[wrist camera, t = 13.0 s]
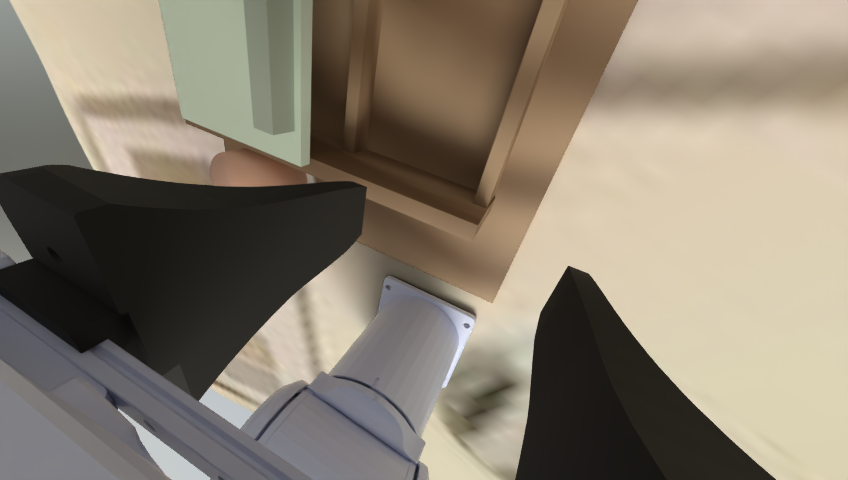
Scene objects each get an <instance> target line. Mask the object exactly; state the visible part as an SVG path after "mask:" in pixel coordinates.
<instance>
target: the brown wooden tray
mask: <svg viewBox="0 0 848 480" xmlns="http://www.w3.org/2000/svg"><path fill="white" fill-rule="evenodd" d="M637 2H638V0H313V12H312V67H311V122H310V164H308V165H305V166H302V167H300V166H297V165H295V164H293V163H290V162H288V161H285V160H283V159H280V158H278V157H276V156H273V155H271V154H268V153H266V152H264V151H261V150H259V149H256V148H254V147H251V146H249V145H247V144H244V143H242V142H239V141H237V140H234V139H232V138H230V137H227V136H225V135H222V134H220V133H218V132H215V131H213V130H210V129H208V128H205V127H203V126H201V125H198V124H196V123H193V122H191V121H189V120H186V119H185V120H186V123H187V124H189V125H192V126H194V127H197V128H199V129H201V130H204V131H206V132H209V133H211V134H213V135H216V136H218V137H221V138H223V139H224V145H225V152H227V151H231V150H236V149H241V148H247V149H249V150H252V151H254V152H257V153H259V154H261V155H264V156H266V157H269V158H271V159H273V160H276V161H278V162H280V163H283V164H285V165H288V166H290V167H292V168H295V169H297V170H300V171H302V172H304V173H306V175H307V183H320V182H333V181H353V182H356V183H358V184H361V185H363V186H366V187H367V192H366V200H365V209H364V218H363V227H362V234H361V236H360V237H359V238H358V239H357V240H356V241H357V242H359V243H362V244H364V245H366V246H368V247H370V248H373V249H375V250H377V251H379V252H381V253H384V254H386V255H388V256H390V257H392V258H394V259H397V260H399V261H401V262H403V263H405V264H408V265H410V266H412V267H414V268H416V269H418V270H421V271H423V272H425V273H427V274H429V275H432V276H434V277H436V278H438V279H440V280H442V281H445V282H447V283H449V284H451V285H453V286H456V287H458V288H460V289H462V290H464V291H467V292H469V293H471V294H473V295H475V296H477V297H480V298H482V299H484V300H486V301H488V302H491V303H493V301H494V299H495V297H496V295H497V293H498V290H499V288H500V286H501V284H502V282H503V280H504V278H505V276H506V274H507V272H508V270H509V268H510V266H511V263H512V261H513V259H514V257H515V255H516V253H517V251H518V249H519V247H520V245H521V243H522V241H523V239H524V236H525V234H526V232H527V230H528V228H529V226H530V224H531V222H532V220H533V218H534V216H535V214H536V211H537V209H538V207H539V205H540V203H541V201H542V199H543V197H544V195H545V193H546V191H547V189H548V187H549V184H550V182H551V180H552V178H553V176H554V174H555V172H556V170H557V168H558V166H559V164H560V162H561V160H562V157H563V155H564V153H565V151H566V149H567V147H568V145H569V143H570V141H571V139H572V137H573V135H574V133H575V130H576V128H577V126H578V124H579V122H580V120H581V118H582V116H583V114H584V112H585V110H586V108H587V105H588V103H589V101H590V99H591V97H592V95H593V93H594V91H595V89H596V87H597V85H598V83H599V81H600V78H601V76H602V74H603V72H604V70H605V68H606V66H607V64H608V62H609V60H610V58H611V56H612V54H613V51H614V49H615V47H616V45H617V43H618V41H619V39H620V37H621V35H622V33H623V31H624V29H625V27H626V24H627V22H628V20H629V18H630V16H631V14H632V12H633V10H634V8H635V6H636V4H637Z"/></svg>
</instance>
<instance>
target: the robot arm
mask: <svg viewBox="0 0 848 480" xmlns="http://www.w3.org/2000/svg"><path fill="white" fill-rule="evenodd" d="M366 192H367V187H366V186H363V185H361V184H358V183H356V182H353V181H333V182H320V183H308V184H296V185H280V186H261V187H231V186H211V185H197V184H183V183H174V182H165V181H157V180H150V179H143V178H136V177H129V176H123V175H118V174H112V173H107V172H101V171H96V170H90V169H85V168H80V167H75V166H70V165H45V166H39V167H34V168H29V169H23V170H18V171H12V172H6V173H0V205H1V206H2V208H3V210H4V212H5V214H6V215H7V217H8V219H9V220H10V222H11V223H12V225H13V227H14V228H15V230H16V231H17V233H18V235H19V237H20V238H21V240H22V241H23V243H24V244H25V246H26V248H27V250H28V251H29V253H30V255H31V256H32V257H33V259H30V260H27V261H24V262H21V263H18V264H16V263H15V262H14V261H13V260H12V259H11V257H10V256H8V255H7V254H6V253H5V252H3V251H2V250H0V480H171V479H170V478H169V477H167V476H166V475H165V474H164V473H163V471H162V470H161V469H160V468H159V466H158V465H157V464H156V462H155V461H154V460H153V459H152V457H151V456H150V455H149V453H148V451H147V450H146V448H145V447H144V446H143V444H142V442H141V441H140V439H139V436H138V434H137V432H136V429H135V427H134V426H133V425H132V424H131V423H130V422H129V421H128V420H127V419H126V418H125V417H124V416H123V415H122V414H121V413H120V412H119V411H118V408H119V409H120V410H121V411H123V412H124V413H125V414H127V415H128V416H129V417H131V418H132V419H133V420H135V421H136V422H137V423H139V424H140V425H141V426H143V427H144V428H145V429H146V430H148V431H149V432H150V433H152V434H153V435H155V436H156V437H157V438H158V439H160V440H161V441H162V442H164V443H165V444H166V445H168V446H169V447H170V448H172V449H173V450H174V451H176V452H177V453H178V454H180V455H181V456H182V457H184V458H185V459H186V460H188V461H189V462H190V463H191V464H193V465H194V466H195V467H197V468H198V469H199V470H201V471H202V472H203V473H205V474H206V475H207V476H209V477H210V478H211V479H210V480H429V476H428V475H429V472H428V468H427V466H426V465H425V464H423V463H422V462H420V461H419V458H420V456H421V453H422V451H423V448H424V446H425V441H424V440H423V439H421V437H422V434H423V432H424V430H425V427H426V425H427V422H428V420H429V417H430V415H431V413H432V410H433V408H434V405H435V403H436V401H437V398H438V396H439V393H440V391H441V388H444V387H446V385H447V383H448V381H449V379H450V377H451V375H452V372H453V370H454V368H455V366H456V364H457V362H458V359H459V357H460V355H461V353H462V351H463V349H464V346H465V344H466V342H467V340H468V338H469V336H470V333H471V331H472V329H473V327H474V325H475V322H476V317H475V316H474V315H472V314H470V313H468V312H466V311H464V310H462V309H460V308H458V307H456V306H454V305H451V304H449V303H447V302H445V301H443V300H441V299H439V298H437V297H435V296H432V295H430V294H428V293H426V292H424V291H422V290H420V289H418V288H416V287H413V286H411V285H409V284H407V283H405V282H403V281H401V280H399V279H397V278H394V277H392V276H387V277H386V278H385V279H384V283H383V288H382V293H381V298H380V303H379V308H378V313H377V315H376V317H375V318H374V319H373V320H372V321H371V323H370V324H369V325H368V326H367V328H366V329H365V330H364V331H363V332H362V334H361V335H360V336H359V337H358V339H357V340H356V341H355V342H354V343H353V345H352V346H351V347H350V348H349V350H348V351H347V352H346V353H345V354H344V356H343V357H342V358H341V359H340V361H339V362H338V363H337V364H336V365H335V367H334V368H333V369H332V370H331V372H330V373H329V374H326V373H324V372H320V374H319V375H318V376H317V377H316V378H315V379H314V381H313V382H312V383H311V384H308V383H307V382H305V381H303V380H299V381H296V382H294V383H292V384H288V385H285V386H283V387H282V388H280V389H279V390H277V391H276V392H275V393H273V394H272V395H271V396H270V397H269V398H268V399H267V400H266V401H265V402H264V403H263V404H262V405H261V406H260V407H259V408H258V409H257V410H256V411H255V412H254V413H253V414H252V415H251V417H250V418H249V419H248V420H247V421H246V422H245V424H244V425H243V426H242V428H241V429H238V428H237V427H235V426H234V425H233V424H231V423H229V422H228V421H227V420H225V419H224V418H222V417H221V416H219V415H218V414H216V413H215V412H214V411H212V410H211V409H209V408H208V407H206V406H205V405H203V404H202V403H200V402H199V400H200V399H201V397H202V396H203V395H204V393H205V392H206V391H207V390H208V388H209V387H210V386H211V385H212V384H213V382H214V381H215V380H216V379H217V377H218V376H219V375H220V374H221V373H222V371H223V370H224V369H225V368H226V366H227V365H228V364H229V363H230V362H231V360H232V359H233V358H234V357H235V356H236V355H237V354H238V352H239V351H240V350H241V349H242V348H243V347H244V346H245V344H246V343H247V342H248V341H249V340H250V339H251V338H252V337H253V335H254V334H255V333H256V332H257V331H258V330H259V329H260V328H261V327H262V326H263V325H264V324H265V323H266V322H267V321H268V320H269V318H270V317H271V316H272V315H273V314H274V313H275V312H276V311H277V310H278V309H279V308H280V307H281V306H282V305H283V304H284V303H285V302H286V301H287V300H288V299H289V298H290V297H291V296H292V295H294V294H295V293H296V292H297V291H298V290H299V289H300V288H302V287H303V286H304V285H305V284H307V283H308V282H309V281H310V280H312V279H313V278H314V277H315V276H317V275H318V274H319V273H320V272H322V271H323V270H324V269H325V268H327V267H328V266H329V265H330V264H332V263H333V262H334V261H335V260H337V259H338V258H339V257H340V256H341V255H343V254H344V253H345V252H346V251H347V250H348V249H349V248H350V247H351V246H352V245H353V244H354V242H355V241H356V240H357V239H358V238H359V237H360V236H361V234H362V227H363V218H364V209H365V200H366ZM388 285H389V286H390V287H391V288H390V287H389V286H388ZM466 323H468V324H469V325H467V324H466ZM515 480H776V479H775V478H774V477H772V476H771V475H770V474H769V473H768V472H767V471H765V470H764V469H763V468H762V467H761V466H760V465H758V464H757V463H756V462H755V461H754V460H753V459H752V458H751V457H749V456H748V455H747V454H746V453H745V452H744V451H743V450H742V449H741V448H739V447H738V446H737V445H736V444H735V443H734V442H733V441H732V440H731V439H730V438H728V437H727V436H726V435H725V434H724V433H723V432H722V431H721V430H720V429H719V428H718V427H717V426H716V425H715V424H714V423H713V422H712V421H711V420H710V419H709V418H708V417H707V416H706V415H704V414H703V413H702V412H701V411H700V410H699V409H698V408H697V407H696V406H695V405H694V404H693V403H692V402H691V401H690V400H689V399H688V398H687V397H686V396H685V395H684V394H683V393H682V392H681V390H680V389H679V388H678V387H677V386H676V385H675V384H674V383H673V382H672V381H671V380H670V378H669V377H668V376H667V375H666V374H665V373H664V372H663V371H662V370H661V369H660V368H659V366H658V365H657V364H656V363H655V362H654V361H653V359H652V358H651V357H650V356H649V355H648V354H647V352H646V351H645V350H644V348H643V347H642V346H641V345H640V343H639V342H638V341H637V340H636V338H635V337H634V336H633V335H632V333H631V332H630V331H629V329H628V328H627V327H626V325H625V324H624V323H623V321H622V320H621V318H620V317H619V316H618V314H617V313H616V311H615V310H614V309H613V307H612V306H611V304H610V303H609V301H608V300H607V298H606V297H605V295H604V294H603V292H602V291H601V290H600V288H599V287H598V285H597V284H596V282H595V281H594V280H593V278H592V277H591V276H590V275H589V274H588V273H585V272H583V271H580V270H578V269H575V268H573V267H570V266H568V267H567V269H566V270H565V272H564V274H563V276H562V277H561V279H560V281H559V282H558V284H557V286H556V287H555V289H554V291H553V292H552V294H551V296H550V298H549V299H548V301H547V303H546V304H545V306H544V308H543V309H542V311H541V313H540V317H539V321H538V325H537V330H536V334H535V340H534V350H533V362H532V375H531V388H530V401H529V410H528V418H527V424H526V429H525V434H524V440H523V445H522V450H521V455H520V460H519V465H518V469H517V474H516V479H515Z"/></svg>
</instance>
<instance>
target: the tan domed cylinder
mask: <svg viewBox="0 0 848 480" xmlns="http://www.w3.org/2000/svg"><path fill="white" fill-rule="evenodd" d="M210 175H211V180H212V184H213V186H231V187H261V186H280V185H296V184H308V183H307V175H306V173H304V172H302V171H300V170H297V169H295V168H292V167H290V166H288V165H285V164H283V163H280V162H278V161H276V160H273V159H271V158H269V157H266V156H264V155H261V154H259V153H257V152H254V151H252V150H249V149H247V148H241V149H236V150H231V151H227V152H222V153H219V154H217V155H216V156H215V157H214V158H213V159H212V162H211V166H210Z"/></svg>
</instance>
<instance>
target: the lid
mask: <svg viewBox="0 0 848 480" xmlns="http://www.w3.org/2000/svg"><path fill="white" fill-rule="evenodd" d="M159 5H160V10H161V15H162V20H163V25H164V30H165V35H166V40H167V45H168V50H169V55H170V60H171V65H172V70H173V75H174V80H175V85H176V90H177V95H178V100H179V105H180V110H181V115H182V118H184V119H186V120H189V121H191V122H193V123H196V124H198V125H201V126H203V127H205V128H208V129H210V130H213V131H215V132H218V133H220V134H222V135H225V136H227V137H230V138H232V139H234V140H237V141H239V142H242V143H244V144H247V145H249V146H251V147H254V148H256V149H259V150H261V151H264V152H266V153H268V154H271V155H273V156H276V157H278V158H280V159H283V160H285V161H288V162H290V163H293V164H295V165H297V166H300V167H302V166H305V165H308V164H310V122H311V67H312V12H313V0H159Z"/></svg>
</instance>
